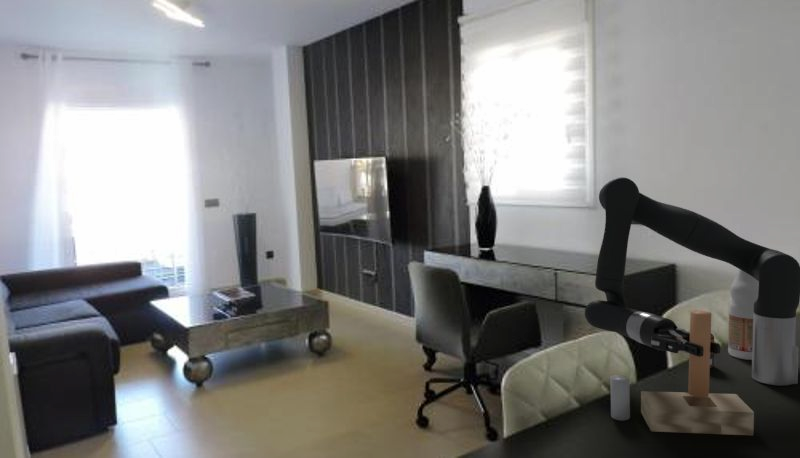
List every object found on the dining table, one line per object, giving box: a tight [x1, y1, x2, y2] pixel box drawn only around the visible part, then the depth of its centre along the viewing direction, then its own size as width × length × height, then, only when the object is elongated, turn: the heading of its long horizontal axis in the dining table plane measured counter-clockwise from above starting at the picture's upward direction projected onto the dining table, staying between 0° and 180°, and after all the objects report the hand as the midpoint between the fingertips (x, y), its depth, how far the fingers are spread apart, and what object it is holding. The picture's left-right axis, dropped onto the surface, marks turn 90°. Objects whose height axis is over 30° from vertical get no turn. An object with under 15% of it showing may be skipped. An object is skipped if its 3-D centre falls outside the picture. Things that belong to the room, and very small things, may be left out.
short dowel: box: [609, 374, 631, 422], centre depth 135 cm, size 4×4×9 cm
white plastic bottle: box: [727, 268, 759, 361], centre depth 172 cm, size 9×9×28 cm
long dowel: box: [687, 310, 712, 398], centre depth 129 cm, size 4×4×18 cm
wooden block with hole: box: [640, 390, 755, 436], centre depth 131 cm, size 20×10×5 cm, turn 80°
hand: (710, 350), depth 126 cm, fingers closed on long dowel, 4 cm apart
